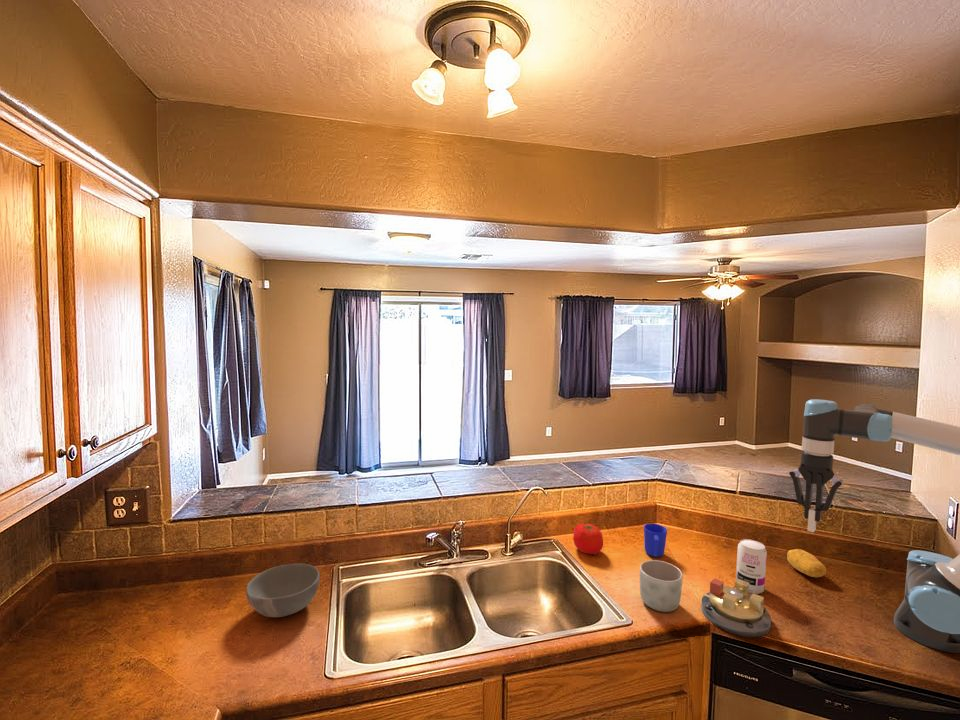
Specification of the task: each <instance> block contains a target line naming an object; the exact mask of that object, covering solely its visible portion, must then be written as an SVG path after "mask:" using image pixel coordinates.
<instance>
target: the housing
mask: <svg viewBox="0 0 960 720" xmlns="http://www.w3.org/2000/svg"><path fill="white" fill-rule="evenodd" d="M729 594H731V595H733V596H736V597H738V602H739V603H740V602H743V593H742V592H741V591H739V590H737V589H730V590H729ZM709 595H710V591H708V592H707V593H705V594H703V596H702V598H701V607H700V608H701V612H702V614H703V615H704V617H705V618H706V619H707V620H708V621H709V622H710V623H712V624H713V625H714V626H716V627H717V628H719V629H721V630H723V631H726V632H728V633H731V634H733V635H737V636H742V637H747V638H758V637H759V638H760V637H764V636H765V635H767V634H769V632H771V625H772V624H771V623H772V618H771V614H770V613H769V612H768V610H767V608H766V607H765V606H763V618H762V619H761V620H760V621H759V622H756V623H742V622H737V621H734V620H731V619H728V618H726V617H724V616H722V615H720V614H719V613H717V612H716V611H715V610H714V609H713V608H712V607H711V605H710V603H709Z"/></svg>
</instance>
